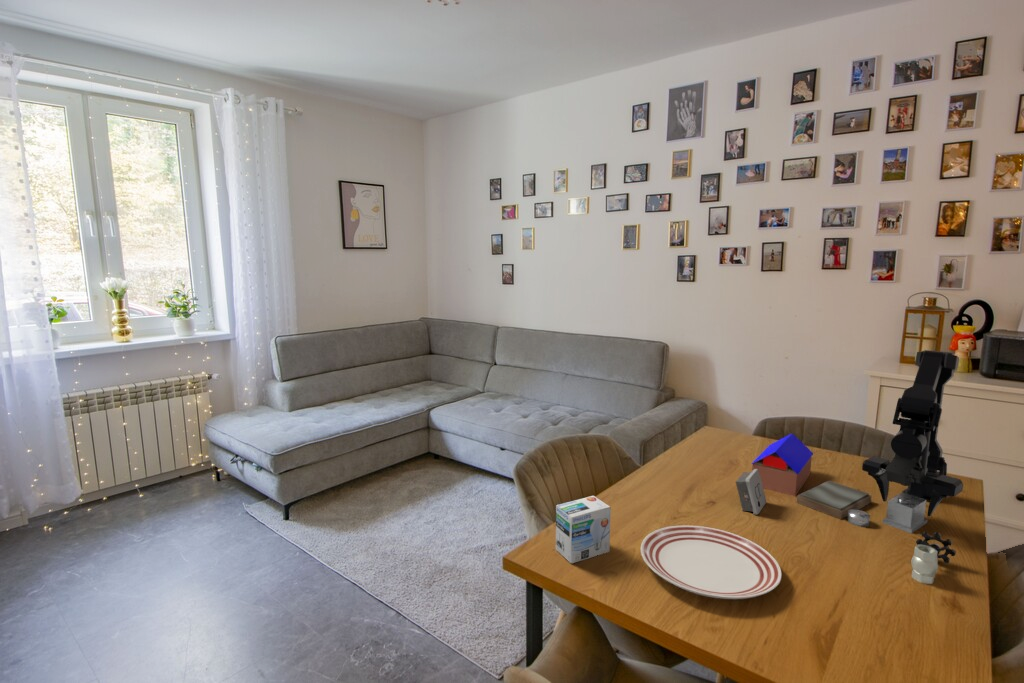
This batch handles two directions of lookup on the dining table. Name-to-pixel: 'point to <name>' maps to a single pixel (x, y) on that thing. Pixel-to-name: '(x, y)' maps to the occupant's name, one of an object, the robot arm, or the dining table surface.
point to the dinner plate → (710, 562)
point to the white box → (582, 528)
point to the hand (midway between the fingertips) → (906, 508)
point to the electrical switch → (751, 491)
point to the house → (784, 465)
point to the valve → (929, 557)
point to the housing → (906, 512)
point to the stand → (834, 499)
